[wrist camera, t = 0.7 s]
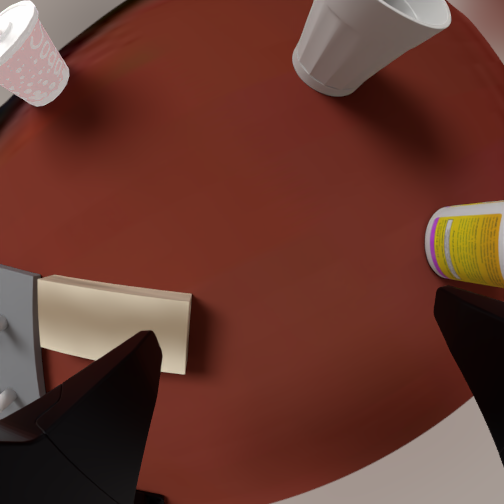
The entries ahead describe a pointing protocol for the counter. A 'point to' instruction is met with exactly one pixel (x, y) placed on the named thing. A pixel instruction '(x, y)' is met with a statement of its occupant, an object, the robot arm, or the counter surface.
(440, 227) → the supplement bottle
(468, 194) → the counter surface
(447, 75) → the counter surface
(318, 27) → the cup
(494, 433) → the robot arm
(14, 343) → the peg stand
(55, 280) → the shelf board
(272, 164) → the counter surface
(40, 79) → the beverage cup
